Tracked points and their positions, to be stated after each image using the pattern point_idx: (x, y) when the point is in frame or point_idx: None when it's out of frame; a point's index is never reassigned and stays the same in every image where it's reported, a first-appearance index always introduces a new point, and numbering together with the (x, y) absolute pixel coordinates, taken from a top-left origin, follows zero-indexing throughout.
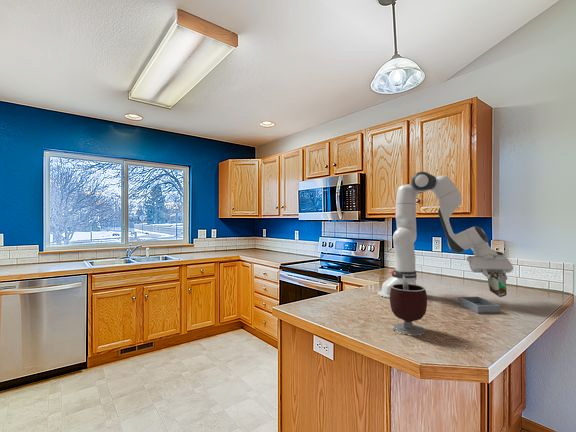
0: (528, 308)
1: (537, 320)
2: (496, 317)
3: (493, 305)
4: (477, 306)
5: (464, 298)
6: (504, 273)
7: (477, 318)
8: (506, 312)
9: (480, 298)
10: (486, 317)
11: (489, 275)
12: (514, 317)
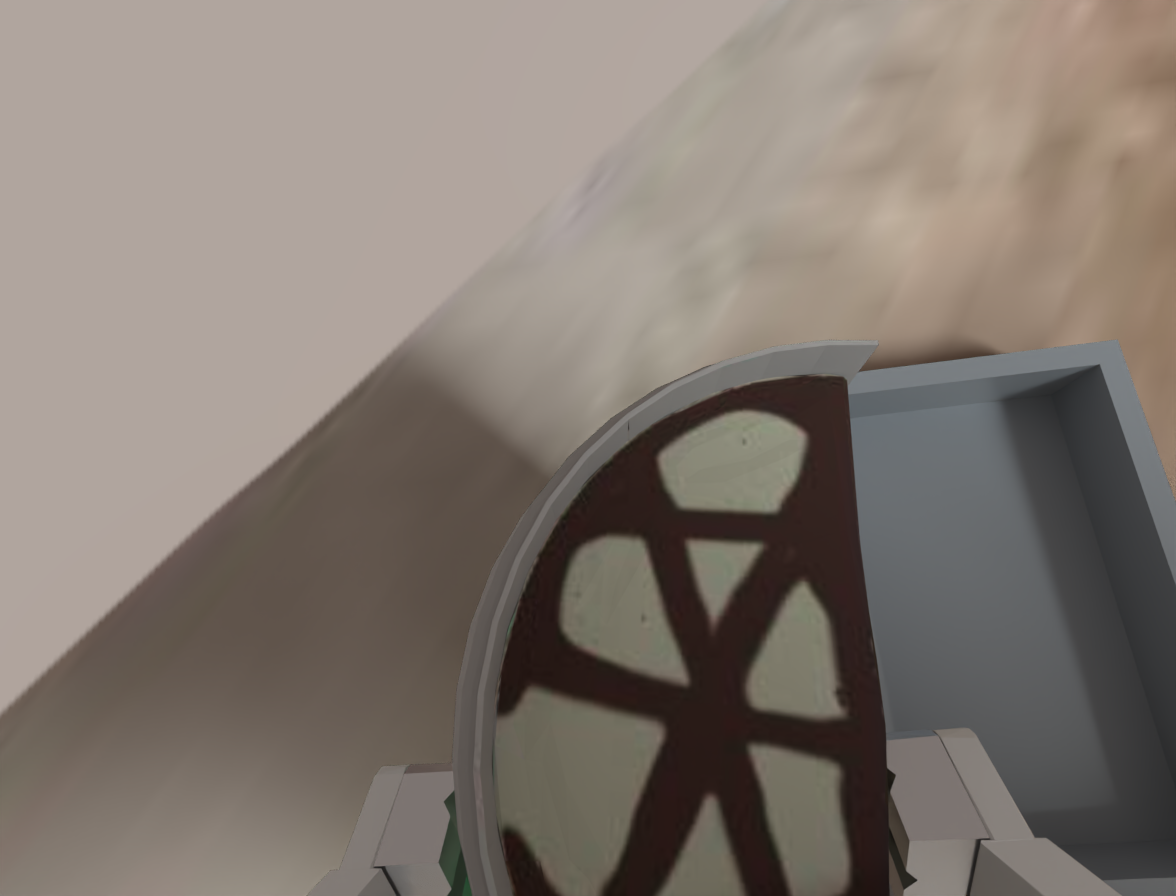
0: (348, 632)
1: (554, 231)
2: (899, 266)
3: (887, 378)
4: (1113, 346)
5: (1170, 867)
6: (498, 626)
7: (1121, 209)
8: None
9: None
10: (1008, 253)
11: (958, 796)
12: (712, 288)
